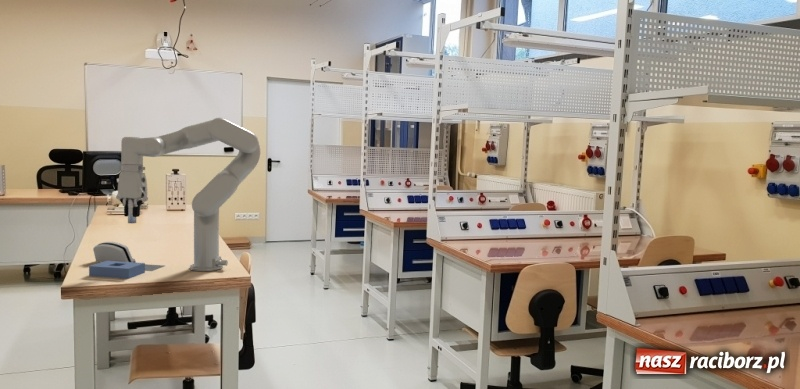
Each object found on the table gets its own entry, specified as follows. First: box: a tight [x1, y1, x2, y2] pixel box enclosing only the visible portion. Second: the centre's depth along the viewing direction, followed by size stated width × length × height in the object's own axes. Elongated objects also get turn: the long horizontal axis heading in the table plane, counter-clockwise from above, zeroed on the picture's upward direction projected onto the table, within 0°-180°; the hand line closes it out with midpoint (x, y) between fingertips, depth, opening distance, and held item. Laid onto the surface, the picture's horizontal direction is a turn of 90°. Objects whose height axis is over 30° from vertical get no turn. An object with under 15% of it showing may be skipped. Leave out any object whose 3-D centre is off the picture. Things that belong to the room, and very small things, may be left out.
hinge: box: [92, 241, 137, 263], centre depth 235 cm, size 17×5×10 cm, turn 71°
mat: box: [145, 263, 165, 272], centre depth 228 cm, size 14×10×1 cm
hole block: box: [88, 261, 146, 280], centre depth 215 cm, size 16×10×4 cm, turn 82°
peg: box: [127, 198, 137, 224], centre depth 221 cm, size 3×3×10 cm
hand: (132, 215), depth 221 cm, fingers closed on peg, 3 cm apart
